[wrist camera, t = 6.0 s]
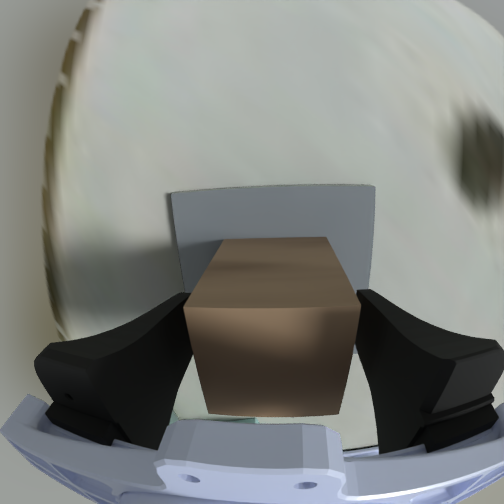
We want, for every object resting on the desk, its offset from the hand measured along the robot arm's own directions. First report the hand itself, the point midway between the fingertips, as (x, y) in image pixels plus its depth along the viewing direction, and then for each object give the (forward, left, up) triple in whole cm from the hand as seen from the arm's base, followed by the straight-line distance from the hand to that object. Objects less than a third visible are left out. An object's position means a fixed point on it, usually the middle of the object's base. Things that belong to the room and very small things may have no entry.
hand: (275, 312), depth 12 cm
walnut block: (0, 0, -3) cm, 3 cm away
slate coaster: (0, 0, -3) cm, 3 cm away
